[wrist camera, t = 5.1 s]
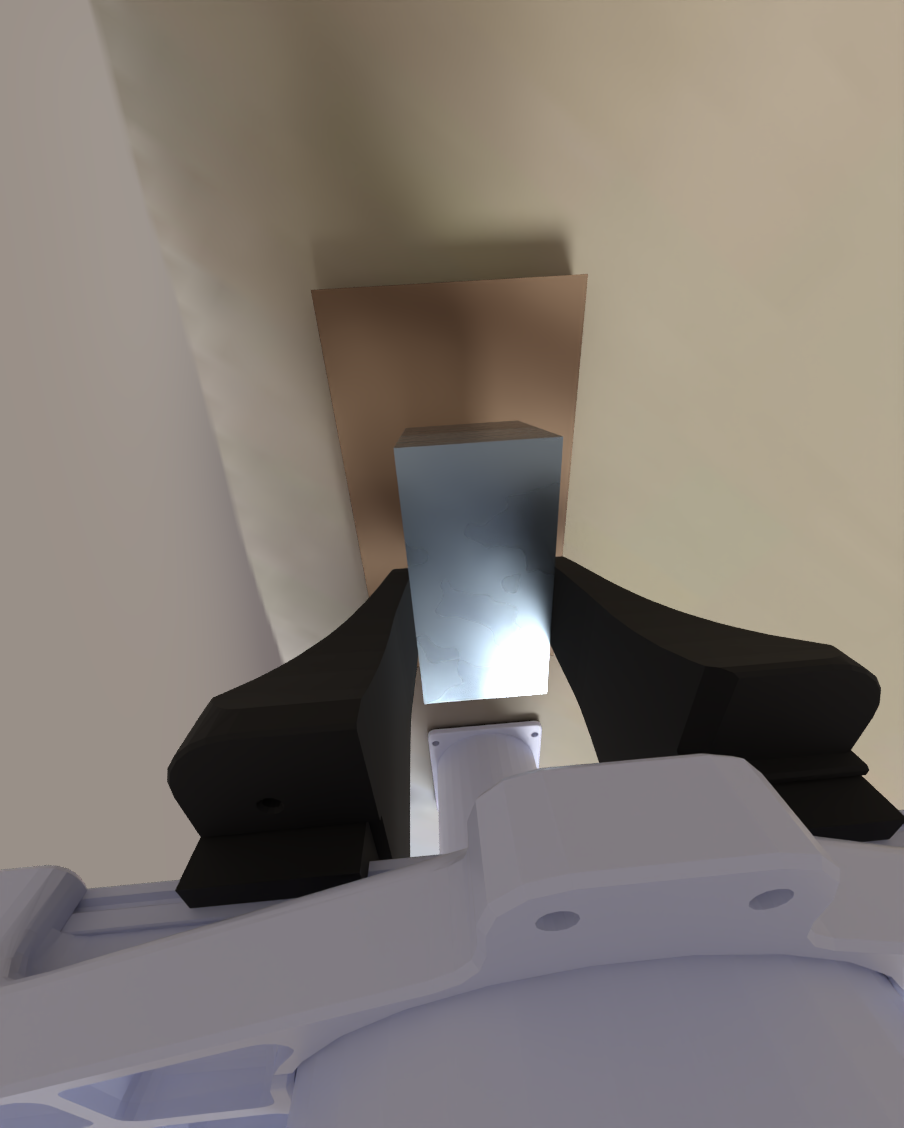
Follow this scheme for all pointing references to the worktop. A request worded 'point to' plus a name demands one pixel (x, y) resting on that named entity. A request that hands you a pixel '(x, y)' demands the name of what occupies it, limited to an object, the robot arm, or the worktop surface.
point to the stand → (443, 380)
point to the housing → (480, 554)
